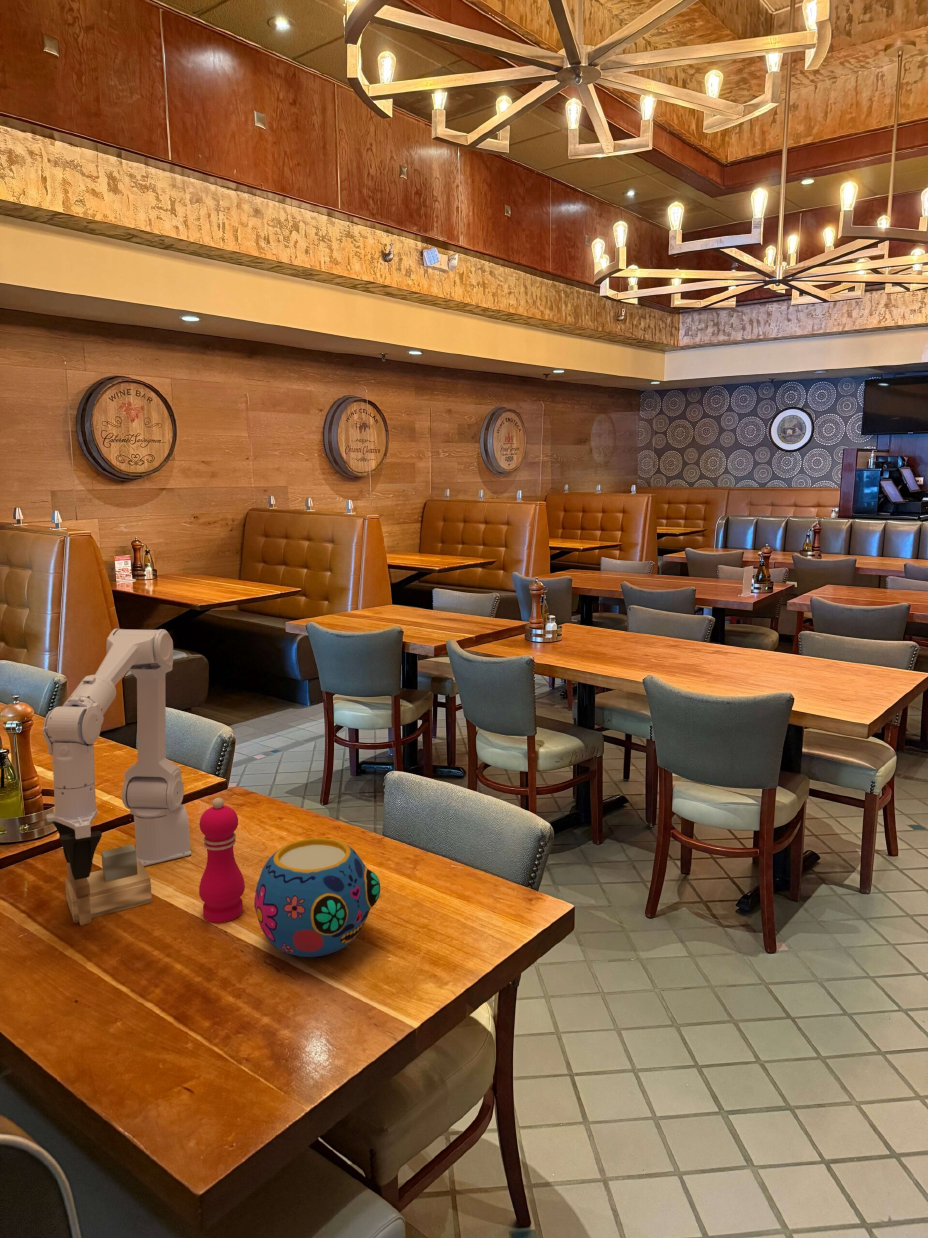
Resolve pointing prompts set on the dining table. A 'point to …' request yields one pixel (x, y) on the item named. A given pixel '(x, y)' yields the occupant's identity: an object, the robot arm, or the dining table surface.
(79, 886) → the rectangular bar
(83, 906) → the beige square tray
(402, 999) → the dining table surface
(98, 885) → the lid
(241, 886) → the pepper mill
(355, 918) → the ceramic pot
